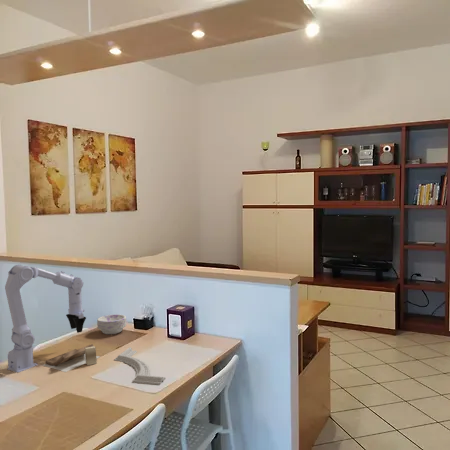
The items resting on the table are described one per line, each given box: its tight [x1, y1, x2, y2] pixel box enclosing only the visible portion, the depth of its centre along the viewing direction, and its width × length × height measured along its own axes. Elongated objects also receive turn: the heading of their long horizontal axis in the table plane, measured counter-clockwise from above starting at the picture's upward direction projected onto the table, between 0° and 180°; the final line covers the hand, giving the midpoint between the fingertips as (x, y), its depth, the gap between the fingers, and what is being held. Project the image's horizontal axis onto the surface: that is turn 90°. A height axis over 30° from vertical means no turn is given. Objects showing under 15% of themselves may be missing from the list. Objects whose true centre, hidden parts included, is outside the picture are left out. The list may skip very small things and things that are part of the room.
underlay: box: [42, 354, 100, 373], centre depth 190 cm, size 19×16×1 cm
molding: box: [113, 347, 166, 386], centre depth 181 cm, size 42×12×3 cm, turn 30°
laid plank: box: [45, 348, 78, 366], centre depth 192 cm, size 16×5×2 cm, turn 149°
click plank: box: [53, 343, 94, 366], centre depth 189 cm, size 16×8×1 cm
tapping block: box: [85, 345, 98, 366], centre depth 186 cm, size 7×4×3 cm
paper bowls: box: [96, 314, 127, 335], centre depth 231 cm, size 15×15×8 cm
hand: (76, 330), depth 203 cm, fingers open, 7 cm apart
